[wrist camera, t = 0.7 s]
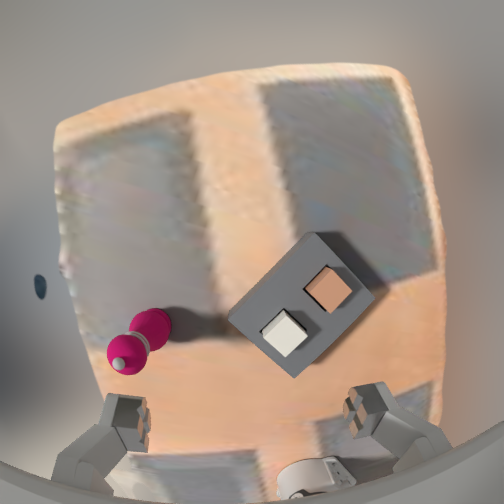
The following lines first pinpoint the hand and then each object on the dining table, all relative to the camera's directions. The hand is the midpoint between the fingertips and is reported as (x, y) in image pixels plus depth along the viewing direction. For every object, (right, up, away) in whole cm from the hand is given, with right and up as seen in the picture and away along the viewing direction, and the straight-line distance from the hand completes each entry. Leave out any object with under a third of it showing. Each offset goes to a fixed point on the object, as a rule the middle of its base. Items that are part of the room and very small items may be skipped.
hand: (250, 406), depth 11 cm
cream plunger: (+5, -7, +40) cm, 41 cm away
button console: (+9, -3, +44) cm, 45 cm away
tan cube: (+12, 0, +40) cm, 42 cm away
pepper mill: (-18, -8, +44) cm, 48 cm away
